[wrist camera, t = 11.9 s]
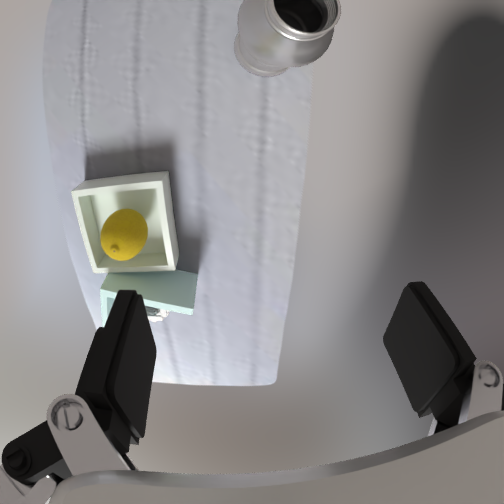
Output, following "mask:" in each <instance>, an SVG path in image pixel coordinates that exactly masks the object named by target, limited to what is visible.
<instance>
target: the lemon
mask: <svg viewBox="0 0 504 504" xmlns="http://www.w3.org/2000/svg"><path fill="white" fill-rule="evenodd" d="M147 237H148V227H147V223H146V221H145V219H144V217H143V216H142V215H141V214H140V213H139V212H137V211H135V210H133V209H128V208H127V209H120V210H117V211H115V212H114V213H113V214H111V215H110V216H109V217H108V218H107V220H106V221H105V222H104V224H103V227H102V230H101V235H100V241H101V246H102V248H103V250H104V252H105V253H106V254H107V255H108V256H109V257H111V258H112V259H115V260H118V261H125V260H129V259H131V258H133V257H135V256H136V255H137V254H138V253H139V252H140V251H141V250H142V248H143V247H144V245H145V243H146V240H147Z"/></svg>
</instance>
